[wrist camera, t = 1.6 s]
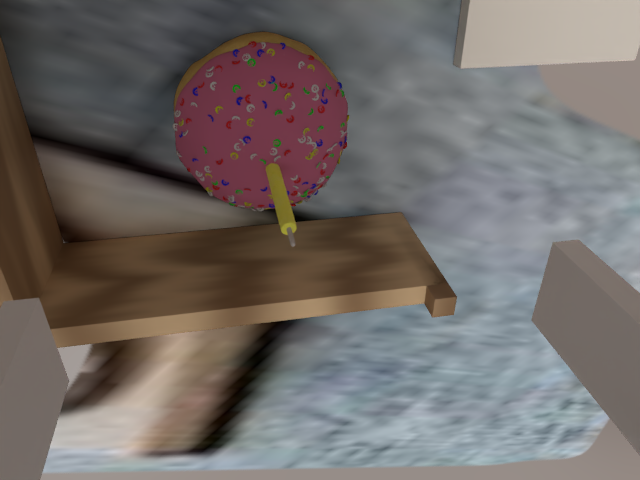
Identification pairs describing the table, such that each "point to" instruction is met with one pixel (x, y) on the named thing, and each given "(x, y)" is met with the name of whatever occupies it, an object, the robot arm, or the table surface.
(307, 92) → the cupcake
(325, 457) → the table surface
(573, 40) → the plate
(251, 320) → the brown open-sided frame
